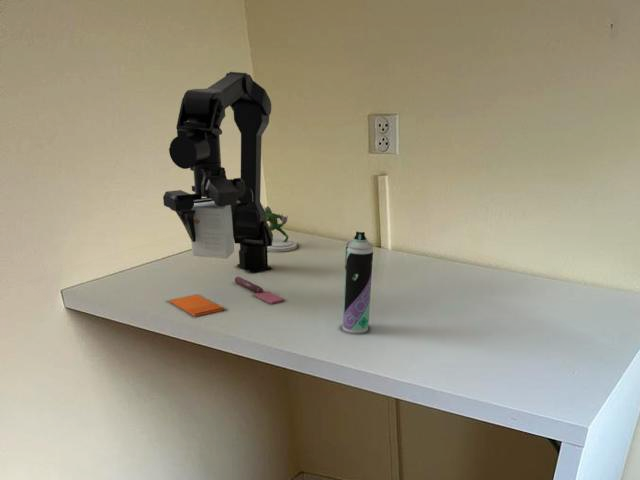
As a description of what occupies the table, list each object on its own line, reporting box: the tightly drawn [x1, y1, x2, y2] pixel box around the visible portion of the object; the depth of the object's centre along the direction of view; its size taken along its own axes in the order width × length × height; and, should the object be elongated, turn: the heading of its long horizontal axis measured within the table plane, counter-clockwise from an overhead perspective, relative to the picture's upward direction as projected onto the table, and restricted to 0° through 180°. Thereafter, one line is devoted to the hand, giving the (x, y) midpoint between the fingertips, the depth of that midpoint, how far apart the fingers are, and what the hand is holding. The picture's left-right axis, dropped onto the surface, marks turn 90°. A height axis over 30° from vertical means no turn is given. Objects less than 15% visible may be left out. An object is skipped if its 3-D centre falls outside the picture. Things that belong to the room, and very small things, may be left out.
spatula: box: [234, 276, 284, 305], centre depth 159 cm, size 17×4×2 cm, turn 42°
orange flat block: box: [169, 294, 224, 318], centre depth 149 cm, size 7×11×1 cm, turn 42°
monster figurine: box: [263, 205, 298, 253], centre depth 190 cm, size 12×12×10 cm
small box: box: [190, 201, 235, 260], centre depth 147 cm, size 8×6×10 cm
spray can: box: [342, 231, 374, 335], centre depth 138 cm, size 6×6×20 cm
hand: (212, 238), depth 148 cm, fingers closed on small box, 9 cm apart
